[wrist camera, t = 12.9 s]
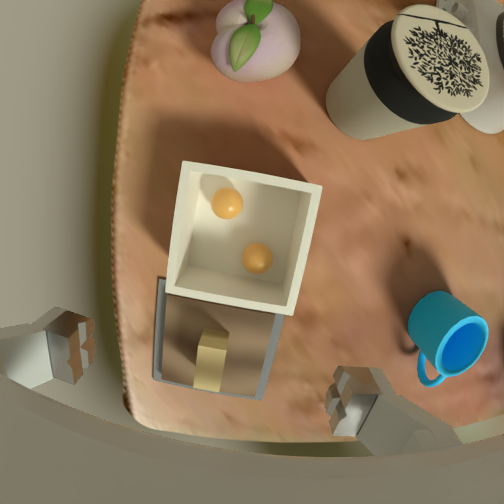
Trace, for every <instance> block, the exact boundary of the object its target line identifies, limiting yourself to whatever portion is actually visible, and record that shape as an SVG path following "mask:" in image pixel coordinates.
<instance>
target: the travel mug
mask: <svg viewBox="0 0 504 504" xmlns="http://www.w3.org/2000/svg"><path fill="white" fill-rule="evenodd" d="M489 80H490V78H489V69H488V64H487V61H486V58H485V55H484V53H483V51H482V48H481V47H480V45H479V43H478V41H477V40H476V38H475V37H474V36H473V34H472V33H471V32H470V30H469V29H468V28H467V27H466V26H465V25H464V24H463V23H462V22H461V21H459V20H458V19H457V18H456V17H454V16H453V15H451V14H450V13H448V12H446V11H444V10H442V9H440V8H438V7H435V6H431V5H426V4H416V5H411V6H408V7H406V8H404V9H403V10H401V11H400V12H399V13H398V15H397V16H396V18H395V19H394V20H392V21H389V22H387V23H385V24H384V25H382V26H381V27H380V28H379V29H378V30H377V31H376V32H375V34H374V35H373V36H372V37H371V38H370V39H369V40H368V41H367V42H366V44H365V45H364V46H363V47H362V48H361V49H360V50H359V51H358V53H357V54H356V55H355V56H354V57H353V58H352V59H351V61H350V62H349V63H348V64H347V65H346V66H345V67H344V69H343V70H342V71H341V72H340V73H339V74H338V76H337V77H336V78H335V79H334V80H333V81H332V83H331V84H330V86H329V88H328V90H327V93H326V108H327V111H328V114H329V116H330V118H331V120H332V122H333V123H334V124H335V125H336V127H337V128H338V129H339V130H341V131H342V132H343V133H345V134H346V135H348V136H350V137H353V138H356V139H361V140H368V139H373V138H377V137H381V136H384V135H388V134H392V133H396V132H400V131H404V130H408V129H412V128H416V127H420V126H425V125H429V124H433V123H438V122H442V121H446V120H449V119H451V118H452V117H454V116H455V115H456V114H457V113H466V112H470V111H473V110H475V109H476V108H478V107H479V106H480V105H481V104H482V103H483V101H484V100H485V98H486V96H487V93H488V89H489Z"/></svg>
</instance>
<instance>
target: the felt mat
mask: <svg viewBox="0 0 504 504" xmlns="http://www.w3.org/2000/svg"><path fill="white" fill-rule="evenodd" d="M165 289H166V279H162V278H159V285H158V298H157V311H156V327H155V346H154V376H153V380H156V381H160V382H164V383H168V384H173V385H177V386H182V387H186V388H191V389H196V390H201V391H206V392H211V393H217V394H222V395H228V396H234V397H241V398H247V399H254V400H262V399H263V395H264V392H265V388H266V385H267V381H268V377H269V374H270V370H271V366H272V363H273V359H274V355H275V351H276V347H277V344H278V340H279V336H280V332H281V328H282V324H283V320H284V316H285V314H279V313H275V319H274V323H273V327H272V332H271V336H270V340H269V344H268V348H267V352H266V356H265V360H264V364H263V368H262V371H261V375H260V379H259V383H258V387H257V391H256V394H255V397H250V396H243V395H237V394H231V393H225V392H219V393H218V392H213V391H208V390H202V389H197V388H193V386H188V385H184V384H179V383H175V382H170V381H166V380H162V379H161V377H162V357H163V340H164V326H165V313H166V302H167V294H168V293H166V292H165Z"/></svg>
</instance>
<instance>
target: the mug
mask: <svg viewBox="0 0 504 504" xmlns="http://www.w3.org/2000/svg"><path fill="white" fill-rule="evenodd" d="M488 332H489V330H488V325H487V323H486V321H485V320H484V319H483V318H482V317H481V316H479V315H478V314H477V313H475V312H474V311H473V310H471V309H470V308H469V307H467V306H466V305H465V304H463V303H462V302H461V301H459V300H458V299H456V298H455V297H454V296H452V295H451V294H449V293H447V292H445V291H435V292H432V293H429V294H427V295H426V296H425V297H423V298H422V299H421V300H420V301H419V302H418V303H417V304H416V305H415V307H414V308H413V310H412V312H411V314H410V317H409V321H408V333H409V336H410V338H411V340H412V341H413V342H414V343H415V344H416V346H417V347H418V348H419V349H420V352H419V357H418V365H417V371H418V377H419V379H420V382H421V383H422V384H423V385H424V386H426V387H434V386H436V385H438V384H440V383H441V382H442V381H443V380H444V379H445V378H446V377H451V376H457V375H459V374H461V373H463V372H465V371H466V370H467V369H469V368H470V367H471V366H472V365H473V364H474V363H475V362H476V361H477V360H478V358H479V357H480V356H481V354H482V352H483V350H484V349H485V346H486V343H487V340H488ZM426 358H427V359H428V360H429V361H430V362H431V364H432V365H433V366H434V367H435V369H436V370H437V371H438V372H439V373H440V375H439V376H438V377H437V378H436V379H434V380H429V379H428V378H427V376H426V373H425V359H426Z"/></svg>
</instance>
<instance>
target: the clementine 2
mask: <svg viewBox="0 0 504 504" xmlns="http://www.w3.org/2000/svg"><path fill="white" fill-rule="evenodd" d="M272 262H273V255H272V252H271V250H270V249H269V248H268V247H267V246H266V245H264V244H262V243H253V244H250V245H249V246H247V247H246V248H245V249H244V251H243V253H242V264H243V266H244V268H245V269H246V270H247V271H249V272H250V273H253V274H262V273H264V272H266V271H267V270H268V269H269V268H270V267H271V265H272Z"/></svg>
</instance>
